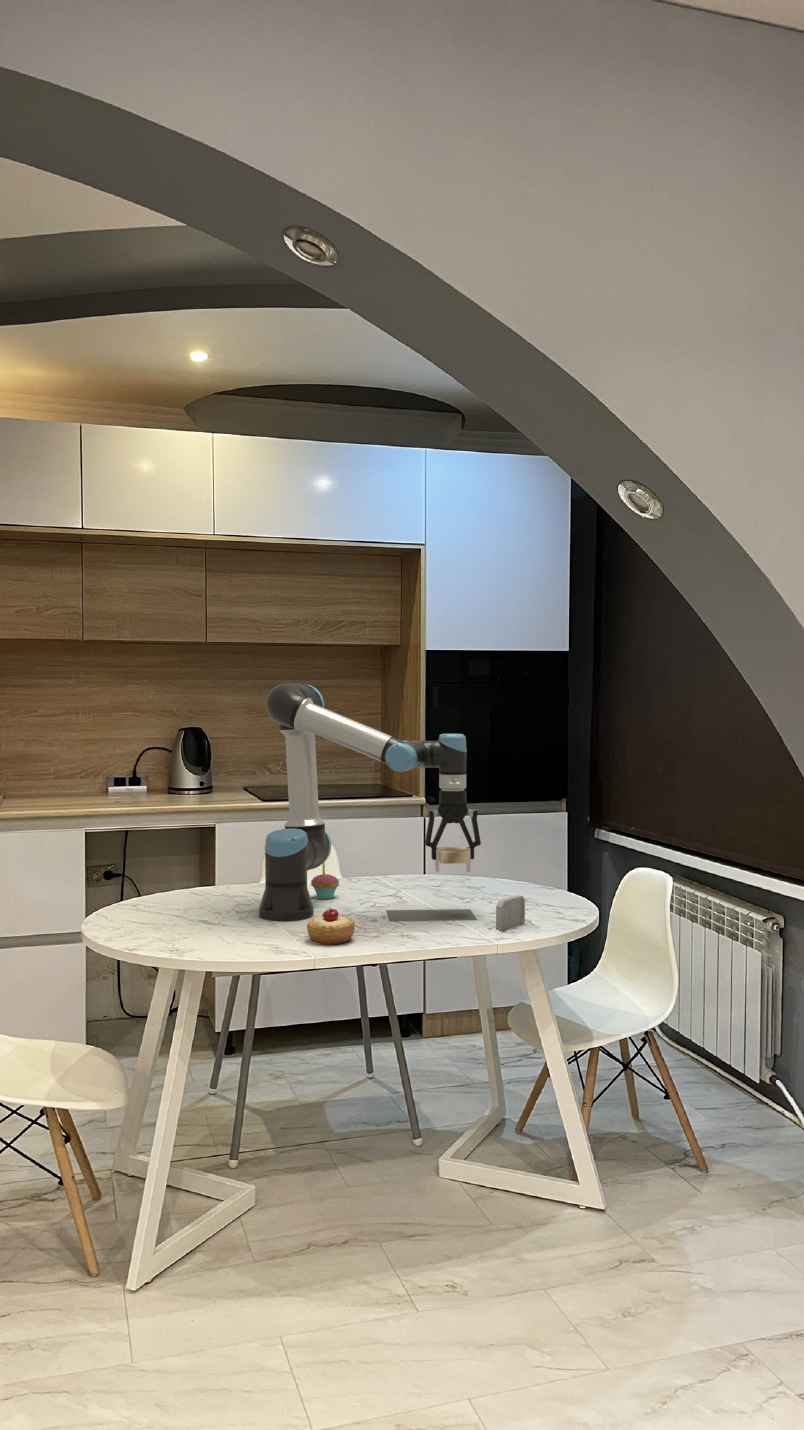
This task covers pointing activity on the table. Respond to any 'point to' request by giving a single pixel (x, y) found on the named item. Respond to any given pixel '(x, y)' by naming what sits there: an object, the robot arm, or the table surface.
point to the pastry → (331, 928)
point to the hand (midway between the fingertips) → (452, 871)
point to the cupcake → (325, 885)
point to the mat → (430, 915)
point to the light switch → (510, 912)
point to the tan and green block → (453, 855)
